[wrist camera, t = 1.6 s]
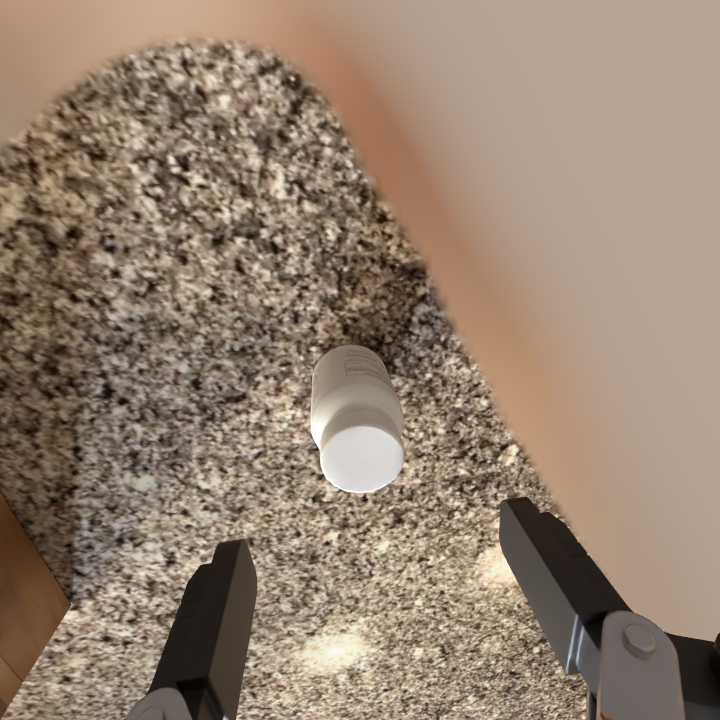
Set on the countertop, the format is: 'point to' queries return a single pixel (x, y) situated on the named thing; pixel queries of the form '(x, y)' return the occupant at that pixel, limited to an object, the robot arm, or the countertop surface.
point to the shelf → (23, 605)
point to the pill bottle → (356, 420)
